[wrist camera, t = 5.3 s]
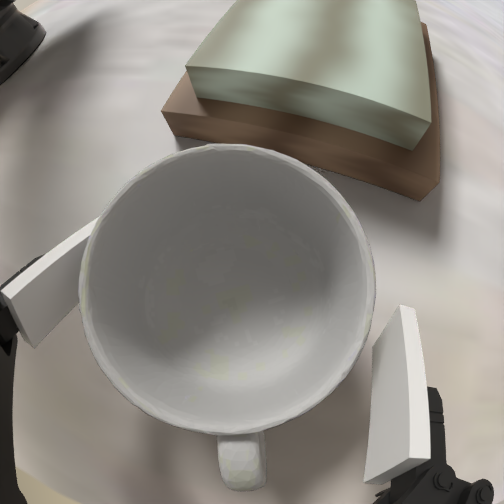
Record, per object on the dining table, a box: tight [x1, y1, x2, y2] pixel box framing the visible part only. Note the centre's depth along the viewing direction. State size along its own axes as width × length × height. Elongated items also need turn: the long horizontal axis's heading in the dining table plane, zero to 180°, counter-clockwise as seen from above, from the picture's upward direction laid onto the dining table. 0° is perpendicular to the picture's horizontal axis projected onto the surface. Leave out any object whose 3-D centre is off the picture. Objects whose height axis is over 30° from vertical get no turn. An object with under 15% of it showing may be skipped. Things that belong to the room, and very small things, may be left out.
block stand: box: [161, 0, 440, 201], centre depth 18 cm, size 18×20×6 cm
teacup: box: [78, 144, 376, 491], centre depth 13 cm, size 14×11×8 cm
